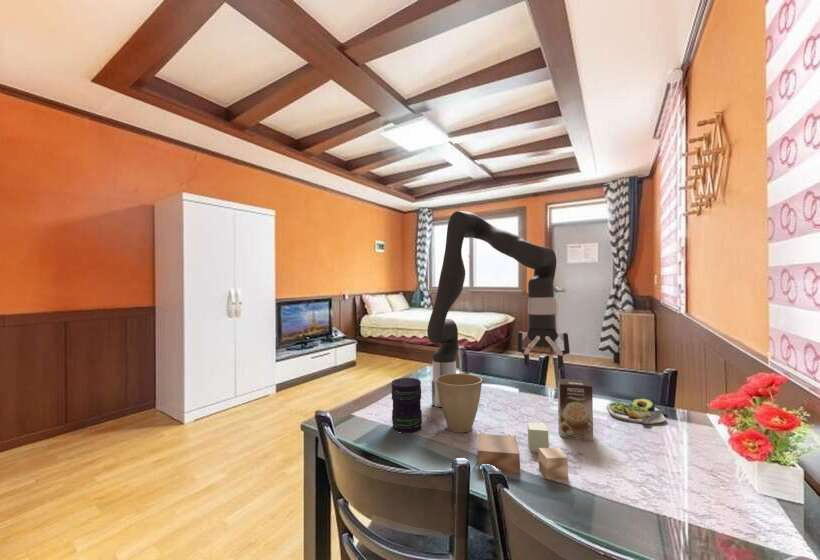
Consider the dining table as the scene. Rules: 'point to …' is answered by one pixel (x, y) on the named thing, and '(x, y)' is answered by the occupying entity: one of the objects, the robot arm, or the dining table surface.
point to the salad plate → (637, 411)
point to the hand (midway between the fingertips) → (543, 367)
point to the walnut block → (499, 452)
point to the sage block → (537, 436)
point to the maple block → (553, 463)
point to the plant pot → (459, 399)
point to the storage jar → (406, 405)
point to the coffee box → (575, 409)
